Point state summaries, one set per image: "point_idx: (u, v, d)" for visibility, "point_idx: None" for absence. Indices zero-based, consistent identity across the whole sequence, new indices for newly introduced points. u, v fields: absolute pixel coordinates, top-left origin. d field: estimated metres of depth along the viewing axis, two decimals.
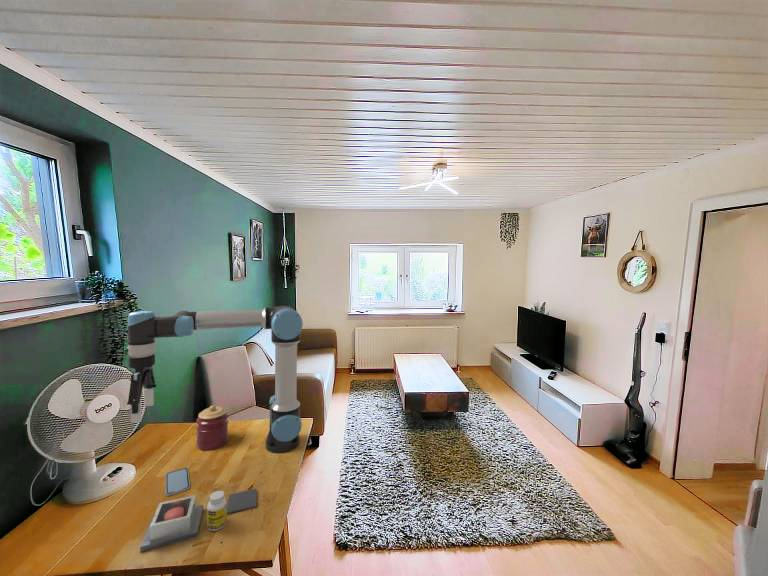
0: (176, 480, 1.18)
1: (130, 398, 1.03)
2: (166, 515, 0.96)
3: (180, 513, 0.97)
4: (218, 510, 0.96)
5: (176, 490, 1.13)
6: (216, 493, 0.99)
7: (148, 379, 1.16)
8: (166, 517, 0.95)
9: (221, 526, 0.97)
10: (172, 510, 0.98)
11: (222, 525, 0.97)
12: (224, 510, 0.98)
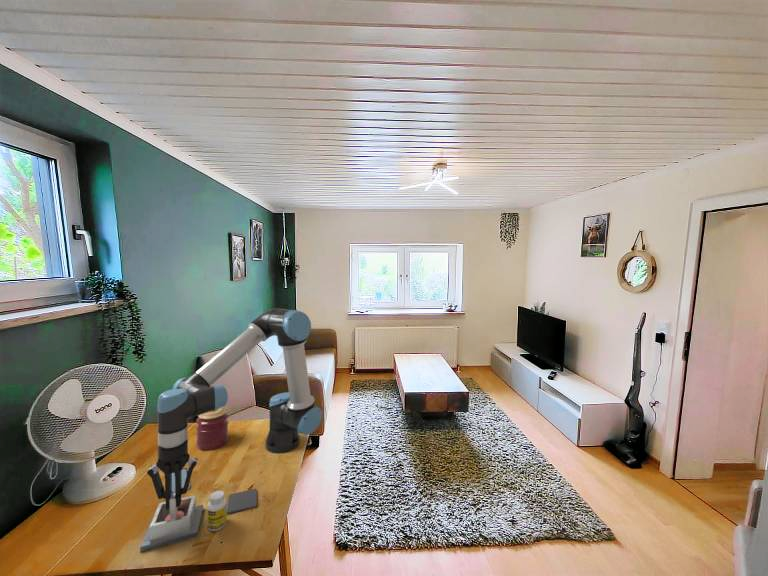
0: None
1: None
2: (166, 519, 0.96)
3: None
4: (218, 510, 0.96)
5: None
6: (216, 493, 0.99)
7: (175, 477, 0.96)
8: None
9: (221, 526, 0.97)
10: None
11: (222, 525, 0.97)
12: (224, 510, 0.98)
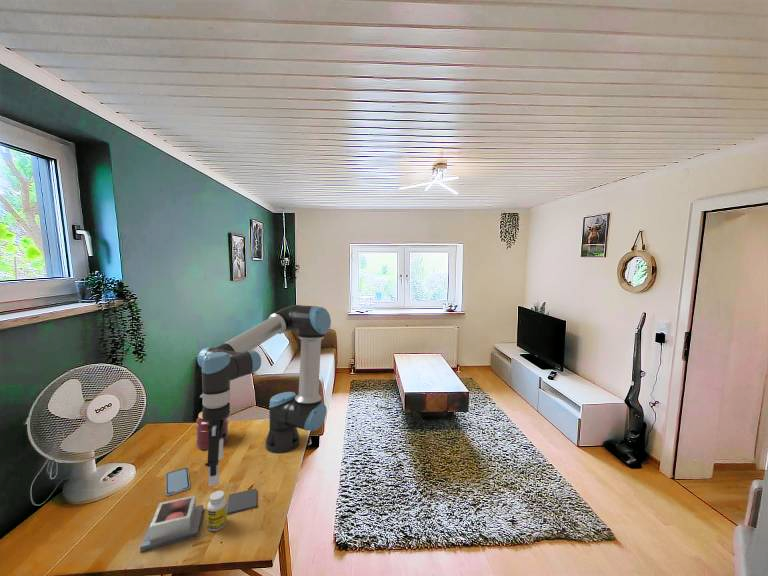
0: (176, 480, 1.18)
1: (209, 459, 0.88)
2: (166, 520, 0.96)
3: None
4: (218, 510, 0.96)
5: (176, 490, 1.13)
6: (216, 493, 0.99)
7: None
8: None
9: (221, 526, 0.97)
10: (172, 515, 0.98)
11: (222, 525, 0.97)
12: (224, 510, 0.98)
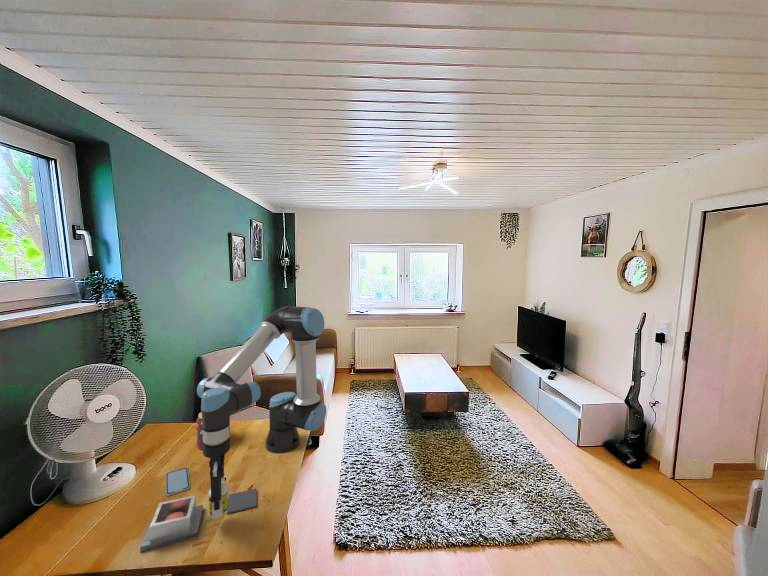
0: (176, 480, 1.18)
1: (213, 497, 0.92)
2: (166, 520, 0.96)
3: None
4: None
5: (176, 490, 1.13)
6: None
7: None
8: None
9: (223, 512, 0.98)
10: (172, 515, 0.98)
11: (224, 511, 0.98)
12: (225, 496, 0.98)
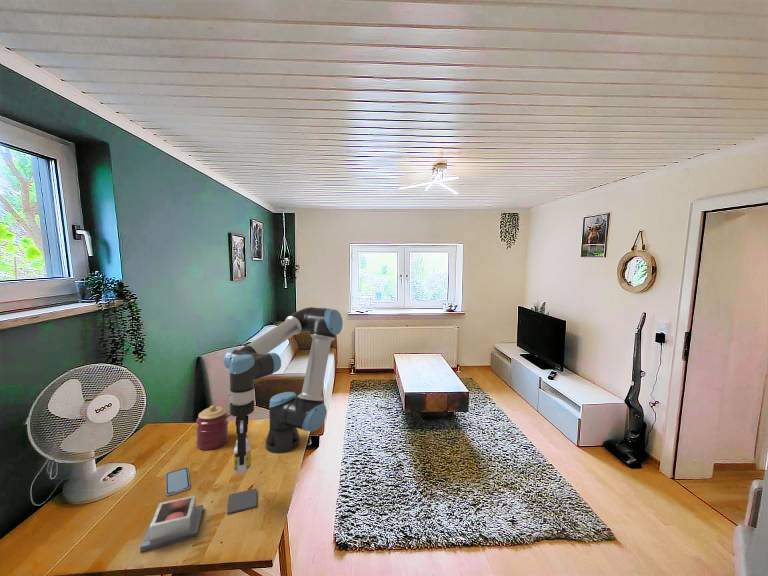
0: (176, 480, 1.18)
1: (239, 451, 1.02)
2: (166, 520, 0.96)
3: None
4: None
5: (176, 490, 1.13)
6: None
7: None
8: None
9: (246, 468, 1.07)
10: (172, 515, 0.98)
11: (247, 467, 1.07)
12: (249, 454, 1.07)
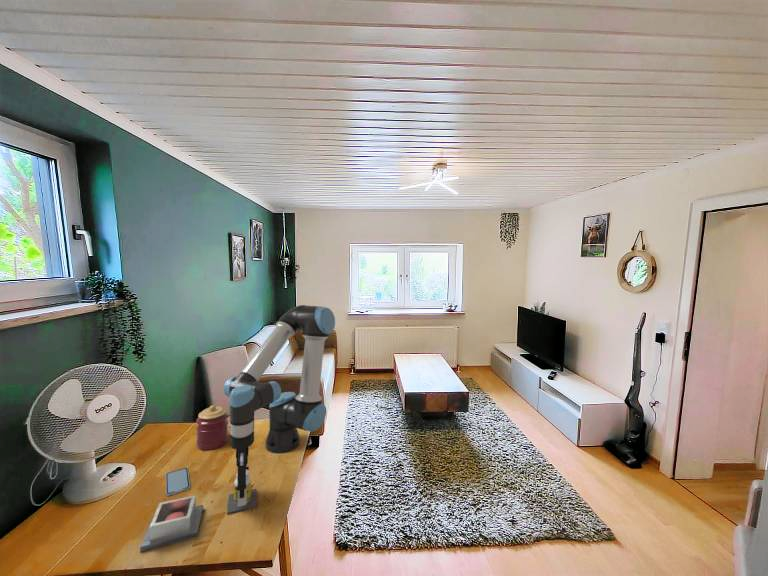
0: (176, 480, 1.18)
1: (239, 485, 1.02)
2: (166, 520, 0.96)
3: None
4: None
5: (176, 490, 1.13)
6: None
7: None
8: None
9: (247, 500, 1.07)
10: (172, 515, 0.98)
11: (247, 500, 1.08)
12: (249, 486, 1.08)
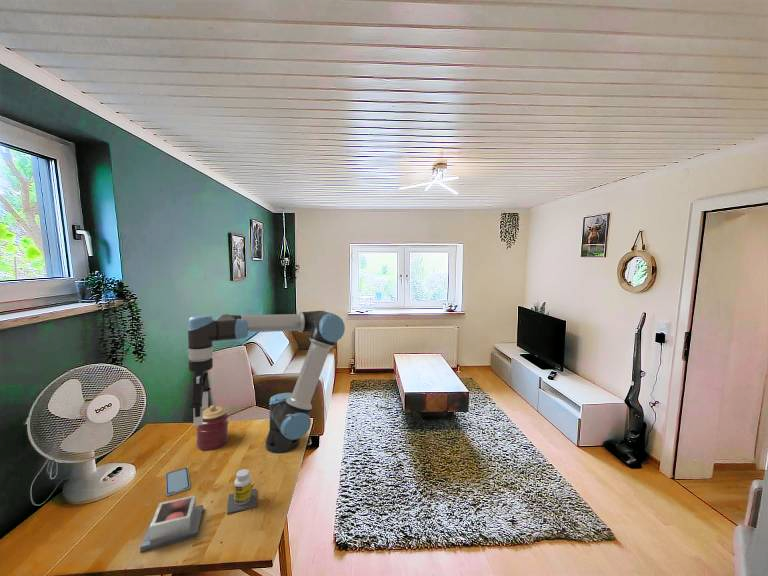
0: (176, 480, 1.18)
1: (194, 401, 1.05)
2: (166, 520, 0.96)
3: None
4: (244, 486, 1.06)
5: (176, 490, 1.13)
6: (242, 471, 1.09)
7: (205, 382, 1.17)
8: None
9: (247, 500, 1.07)
10: (172, 515, 0.98)
11: (247, 500, 1.08)
12: (249, 486, 1.08)
